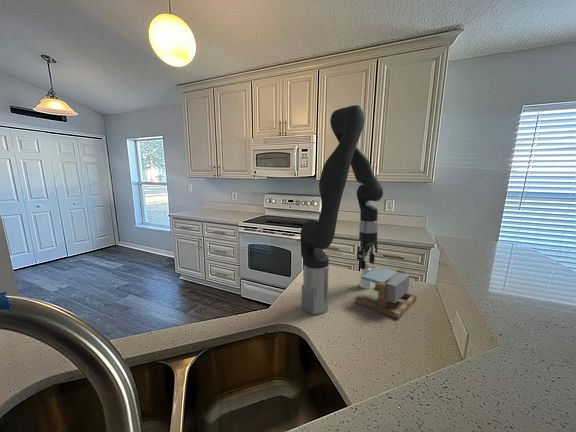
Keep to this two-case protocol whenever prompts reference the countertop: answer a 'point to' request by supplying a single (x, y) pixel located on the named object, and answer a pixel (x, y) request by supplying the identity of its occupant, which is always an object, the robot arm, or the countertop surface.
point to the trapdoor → (389, 282)
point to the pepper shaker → (363, 282)
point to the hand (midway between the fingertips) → (367, 265)
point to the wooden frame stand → (382, 301)
